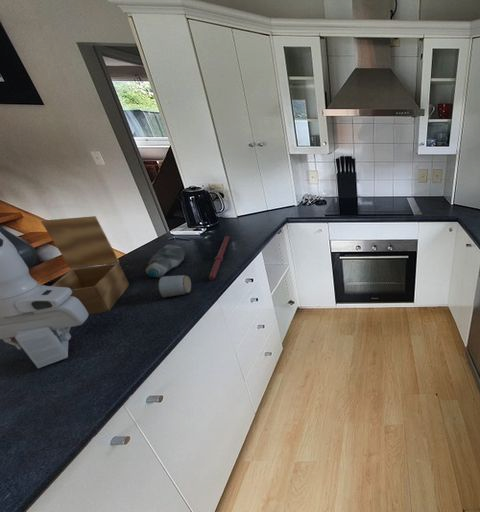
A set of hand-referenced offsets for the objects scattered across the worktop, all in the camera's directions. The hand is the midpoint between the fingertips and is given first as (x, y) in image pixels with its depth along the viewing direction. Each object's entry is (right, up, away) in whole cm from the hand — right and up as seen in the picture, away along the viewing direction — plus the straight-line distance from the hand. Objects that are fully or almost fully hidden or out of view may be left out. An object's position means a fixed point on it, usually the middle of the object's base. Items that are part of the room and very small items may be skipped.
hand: (46, 343), depth 72 cm
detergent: (-6, +18, +47) cm, 51 cm away
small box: (0, -4, +2) cm, 4 cm away
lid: (-16, +28, +23) cm, 40 cm away
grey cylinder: (+12, +9, +31) cm, 35 cm away
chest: (-13, +7, +25) cm, 29 cm away
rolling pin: (+13, +22, +57) cm, 63 cm away
